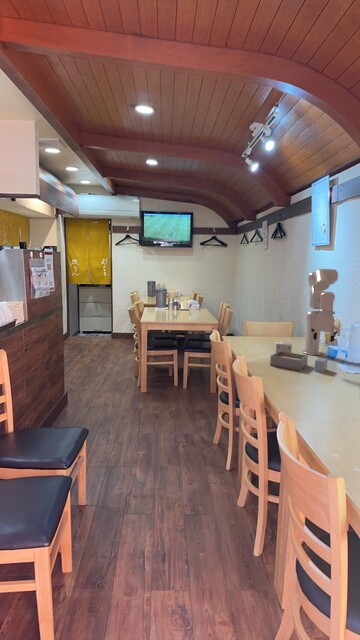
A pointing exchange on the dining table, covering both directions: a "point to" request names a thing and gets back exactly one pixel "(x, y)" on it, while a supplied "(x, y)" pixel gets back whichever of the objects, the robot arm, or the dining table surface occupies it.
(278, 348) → the light bulb box
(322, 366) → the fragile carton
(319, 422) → the dining table surface
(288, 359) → the tote
